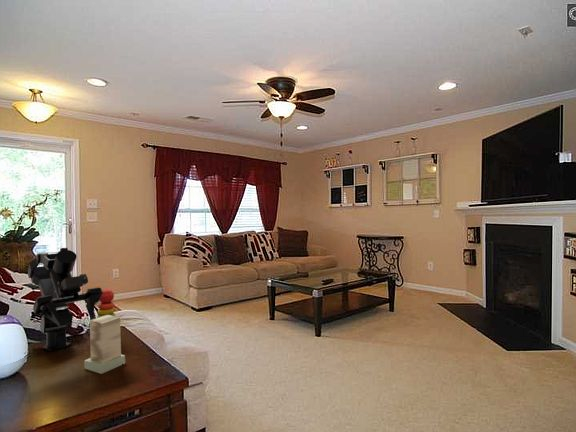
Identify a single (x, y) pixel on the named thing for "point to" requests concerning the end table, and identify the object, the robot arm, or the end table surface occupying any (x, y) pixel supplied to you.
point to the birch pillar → (105, 338)
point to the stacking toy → (106, 304)
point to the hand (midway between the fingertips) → (77, 321)
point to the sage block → (104, 364)
